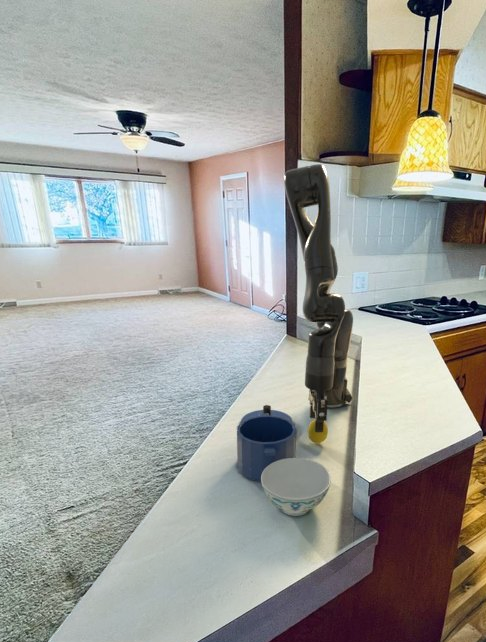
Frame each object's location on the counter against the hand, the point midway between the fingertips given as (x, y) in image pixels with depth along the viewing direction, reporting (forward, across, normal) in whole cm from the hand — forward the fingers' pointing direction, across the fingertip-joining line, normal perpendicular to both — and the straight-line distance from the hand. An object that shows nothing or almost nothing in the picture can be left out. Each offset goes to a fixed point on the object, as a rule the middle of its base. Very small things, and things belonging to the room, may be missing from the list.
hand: (316, 424), depth 114 cm
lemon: (+6, 0, -1) cm, 6 cm away
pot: (+6, -9, +14) cm, 18 cm away
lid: (+6, +13, +13) cm, 19 cm away
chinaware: (+7, -26, +9) cm, 28 cm away
